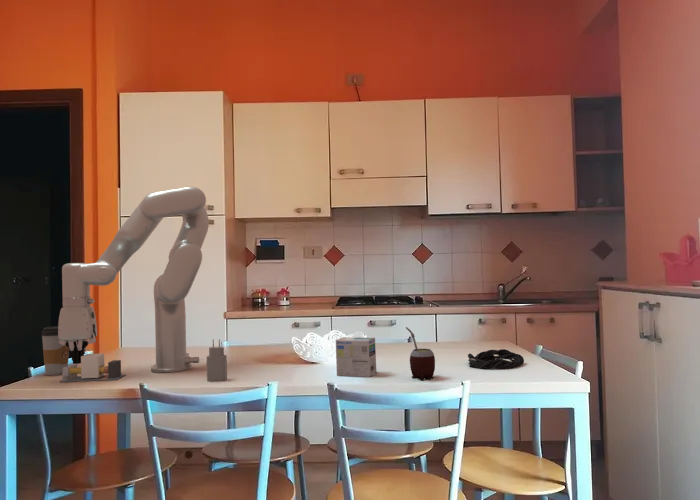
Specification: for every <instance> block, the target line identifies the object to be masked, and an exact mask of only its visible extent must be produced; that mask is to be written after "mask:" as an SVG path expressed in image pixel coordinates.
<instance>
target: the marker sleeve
mask: <svg viewBox="0 0 700 500" xmlns="http://www.w3.org/2000/svg"><path fill="white" fill-rule="evenodd" d="M99 367H105V352H104V353H99V352H98V353H87V354H84V356H81V363H80V368H81V374H80V376H81V378H99V377H101V376H103V375H106V373H99Z"/></svg>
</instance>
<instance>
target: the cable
mask: <svg viewBox="0 0 700 500" xmlns="http://www.w3.org/2000/svg"><path fill="white" fill-rule="evenodd" d="M467 357H468V365H469V367H470V368H471V367H472V368H476V369H478V370H481V369H483V370H484V369H486V370H491V369H500V370H506V369H515V368H518V367H520V366H522V365H523V364H524V362H525V359H524V357H523V356H522V355H521V354H518V353H516V352H513V351H510V350H508V349H504V348H503V349H501V348H500V349H489V350H485V351H481V352H479V353H477V354H476V355H475V356H474V355H473V354H472V353H468V354H467Z"/></svg>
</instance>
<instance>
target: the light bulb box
mask: <svg viewBox="0 0 700 500" xmlns="http://www.w3.org/2000/svg"><path fill="white" fill-rule="evenodd" d="M376 353H377V351H376V337H361V336H360V337H354V336H353V337H349V336H348V337H346V336H345V337H344V336H342V337H340V338H337V339H335V357H336V358H335V359H336V376H338V377H360V378H363V377H365V378H371V377H372V376H373V375H375V374H376V373H377V354H376Z"/></svg>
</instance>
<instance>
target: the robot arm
mask: <svg viewBox="0 0 700 500" xmlns="http://www.w3.org/2000/svg"><path fill="white" fill-rule="evenodd" d="M206 203H207V197H206V194H205V192H204V191H203V190H202V189H200V188H198V187H195V186H187V187H180V188H175V189H174V188H173V189H168V190H161V191H154V192H150V193H148V194H146V196H144V197H143V199H142V200H141V202H140V203H139V204H138V205H137V207H135V209H134V210H133V212H131V214H130V216H128V217H127V219H126V221H124V223H123V224H122V226H120V228H119V229H118V231H117V232H116V234H115V236H114V237H113V239H112V241H111V242H110V244H109V245H108V246H107V248H106V249H105V251H103V253H102V254H101V255H100V256H99V258H98V259H97V261H96V262H90V263H85V262H69V263H65V264H63V265H62V267H61V275H62V276H61V280H62V282H61V283H62V284H61V285H62V307H61V308H60V311H59V316H58V324H57V326H58V337H59V339H60V340H59V344H61V345H66V346H67V347H68V348H69V352H70V351H71V361H72V364H77V365H80V364H81V356H84V355H85V349H86V348H87V346H89V345H91V344H95V343H97V339H96V337H97V335H98V328H97V327H98V325H97V318H96V317H97V316H96V313H95V309H94V306H91V305H92V304H94V303H95V299H94V298H92V296H91V286H101V287H103V286H108V285H111V284H112V283H114V282H115V280H116V278H117V275H118V274H119V272H120V271H121V270H122V268H123V267H124V266H125V265H126V264H127V262H128V260H130V259H131V257H132V256H133V255H134V254H135V253H136V252H138V251H139V250H140V249H141V248H142V246H144V244H145V242H146V241H147V240H148V238H149V237H150V236H151V234H152V233H153V232H154V231H155V230H156V228H157V227H158V226H159V225H160V223H161V222H162V220H163V219H164V218H169V217H170V218H171V217H177V216H181V217H182V224H181V227H180V229H179V232H178V234H177V237H176V239H175V241H174V244H173V246H172V248H171V249H170V250H169V253H168V262H167V264H166V267H165V269H164V271H163V272H162V273H163V274H161V275H159V276H158V277H157V278H156V280H155V281H154V284H153V302H154V324H155V325H154V328H155V329H154V330H155V365H152V366H151V367H150V371H151V372H153V373H162V374H163V373H176V372H182V371H187V370H189V369H191V368H192V364H200V357H199V356H190V353H188V352H187V324H186V320H187V319H186V318H187V317H186V301H185V298H186V297H187V296H188V294H189V293H190V290H191V288H192V286H193V284H194V282H195V279H196V277H197V274H198V272H199V269H200V267H201V265H202V261H203V253H202V250H201V249H202V246H203V245H204V241H205V239H206V236H207V233H208V230H209V226H210V225H209V224H210V220H209V215H208V212H207V209H206V208H205V206H206Z"/></svg>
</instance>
